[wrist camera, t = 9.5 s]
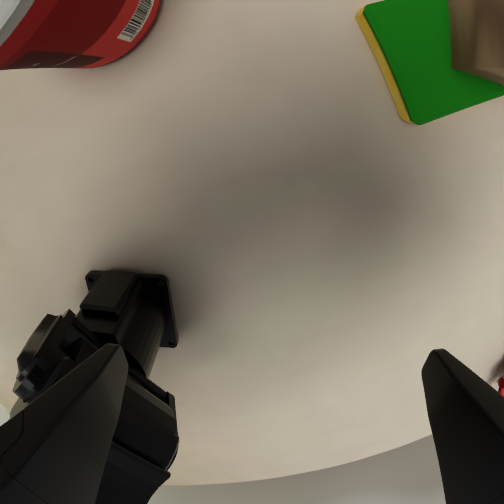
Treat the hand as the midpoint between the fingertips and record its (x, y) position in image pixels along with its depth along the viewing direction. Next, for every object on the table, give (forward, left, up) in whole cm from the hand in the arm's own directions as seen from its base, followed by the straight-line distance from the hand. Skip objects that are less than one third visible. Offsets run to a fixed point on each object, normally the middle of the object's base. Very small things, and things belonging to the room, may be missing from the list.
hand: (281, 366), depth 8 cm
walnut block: (+12, -12, -10) cm, 20 cm away
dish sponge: (+12, -12, -13) cm, 21 cm away
